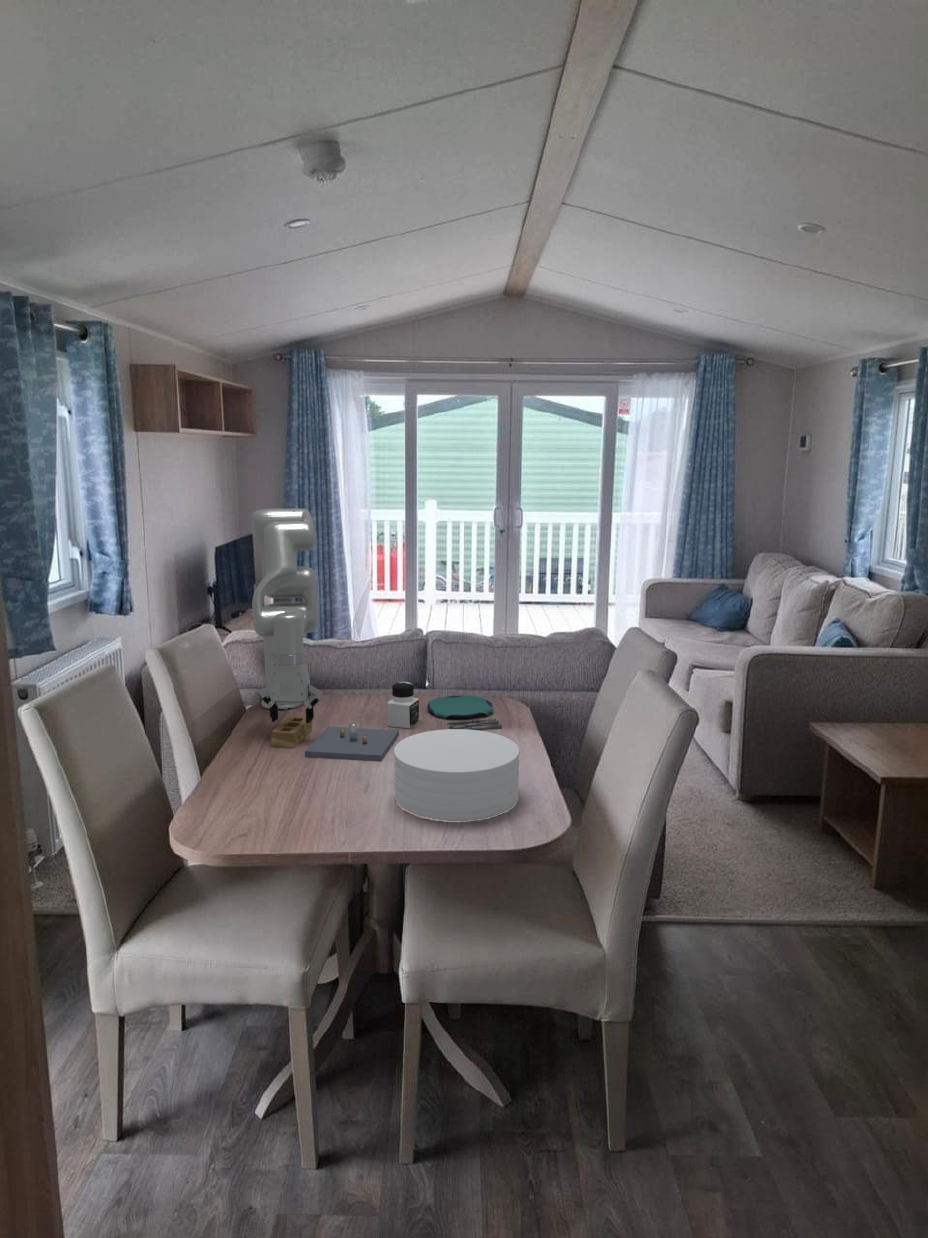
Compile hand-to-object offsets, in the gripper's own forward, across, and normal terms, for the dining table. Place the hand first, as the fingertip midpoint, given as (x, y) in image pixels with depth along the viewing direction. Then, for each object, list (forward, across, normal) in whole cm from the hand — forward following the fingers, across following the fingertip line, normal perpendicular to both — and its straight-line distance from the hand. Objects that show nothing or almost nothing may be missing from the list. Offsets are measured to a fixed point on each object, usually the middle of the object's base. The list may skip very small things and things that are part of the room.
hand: (292, 721), depth 228 cm
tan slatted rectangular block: (+5, 0, +1) cm, 5 cm away
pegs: (+4, +18, -2) cm, 18 cm away
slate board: (+5, +18, -2) cm, 19 cm away
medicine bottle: (+5, +27, +18) cm, 32 cm away
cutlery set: (+6, +42, +29) cm, 52 cm away
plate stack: (+7, +50, -31) cm, 59 cm away
